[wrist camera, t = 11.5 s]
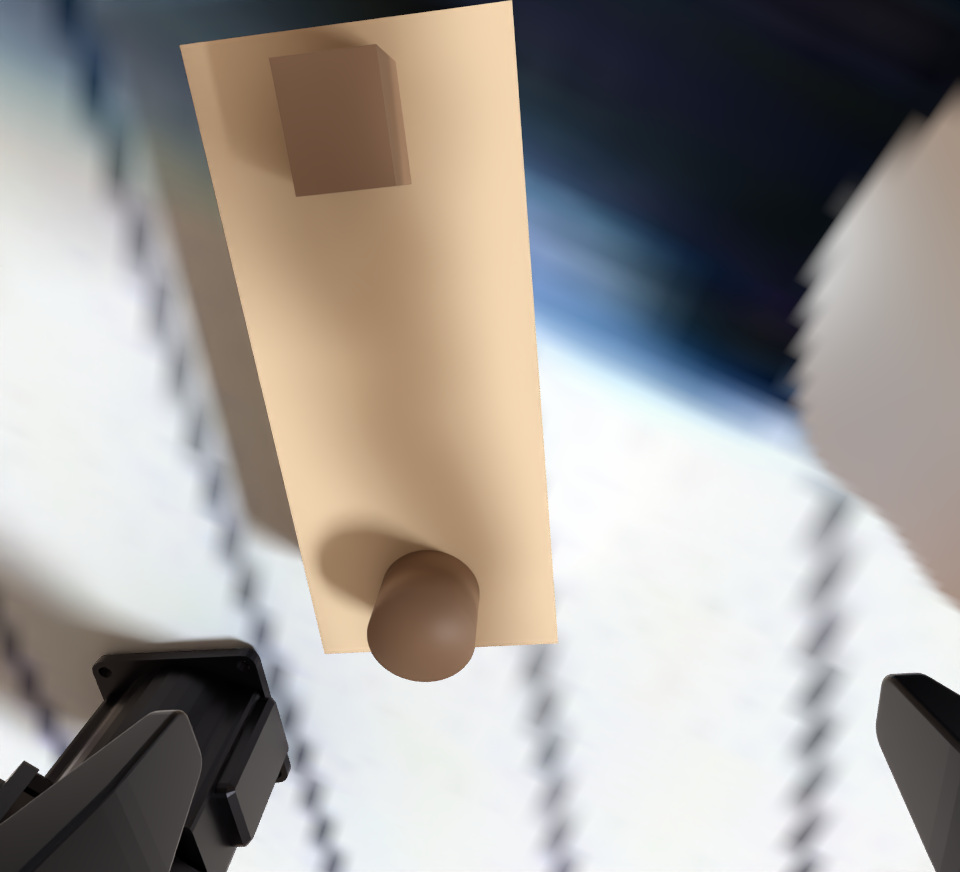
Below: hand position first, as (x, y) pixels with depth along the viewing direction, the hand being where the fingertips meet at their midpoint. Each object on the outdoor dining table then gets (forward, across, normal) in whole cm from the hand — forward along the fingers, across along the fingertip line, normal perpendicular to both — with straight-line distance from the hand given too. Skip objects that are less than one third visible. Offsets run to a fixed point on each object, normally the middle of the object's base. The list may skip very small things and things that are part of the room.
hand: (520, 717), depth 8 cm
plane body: (+13, +3, -2) cm, 13 cm away
